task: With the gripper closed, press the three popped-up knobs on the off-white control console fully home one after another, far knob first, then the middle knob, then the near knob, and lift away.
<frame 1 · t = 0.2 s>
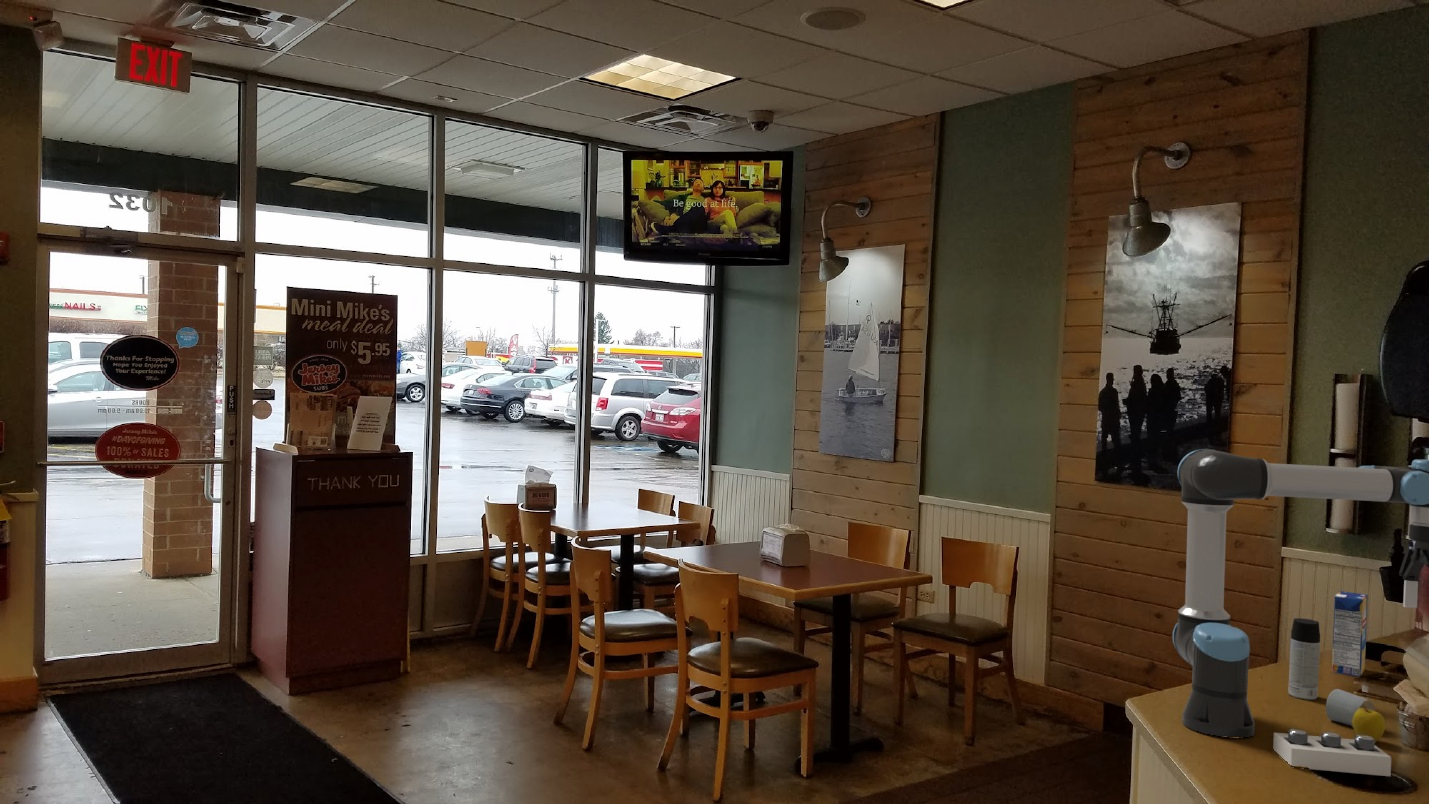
hand: (1424, 613, 237), 28 cm above the counter, fingers open, 13 cm apart
knob near: (1297, 740, 213), point 4 cm above the counter, slide at 0.0 cm
spray can: (1302, 697, 261), on the counter
apple: (1367, 742, 227), on the counter
beverage box: (1348, 671, 288), on the counter
knob mid: (1330, 743, 212), point 4 cm above the counter, slide at 0.0 cm
knob far: (1364, 746, 211), point 4 cm above the counter, slide at 0.0 cm
ceramic mug: (1351, 724, 240), on the counter
console: (1330, 763, 212), on the counter
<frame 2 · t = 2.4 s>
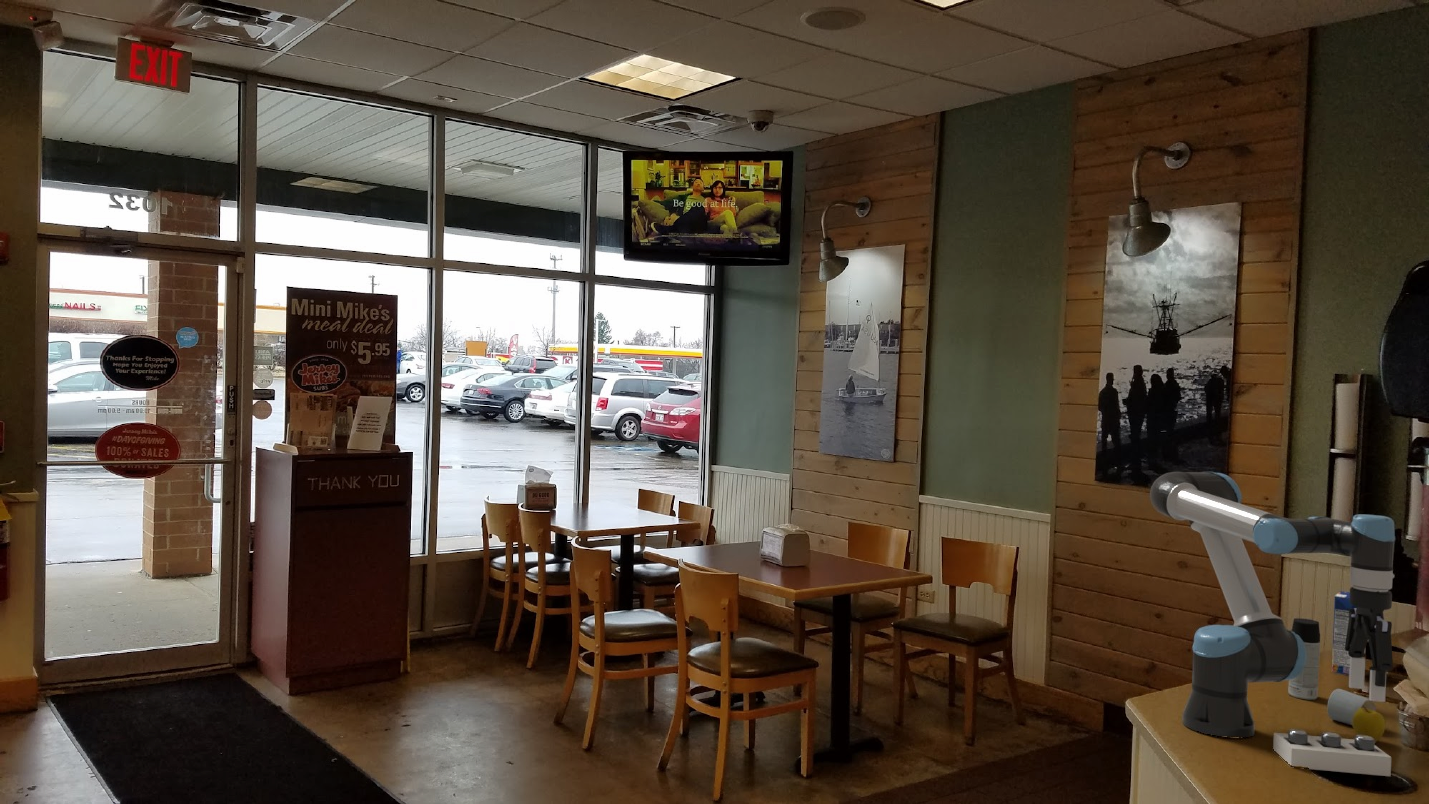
hand: (1366, 694, 211), 15 cm above the counter, fingers open, 9 cm apart
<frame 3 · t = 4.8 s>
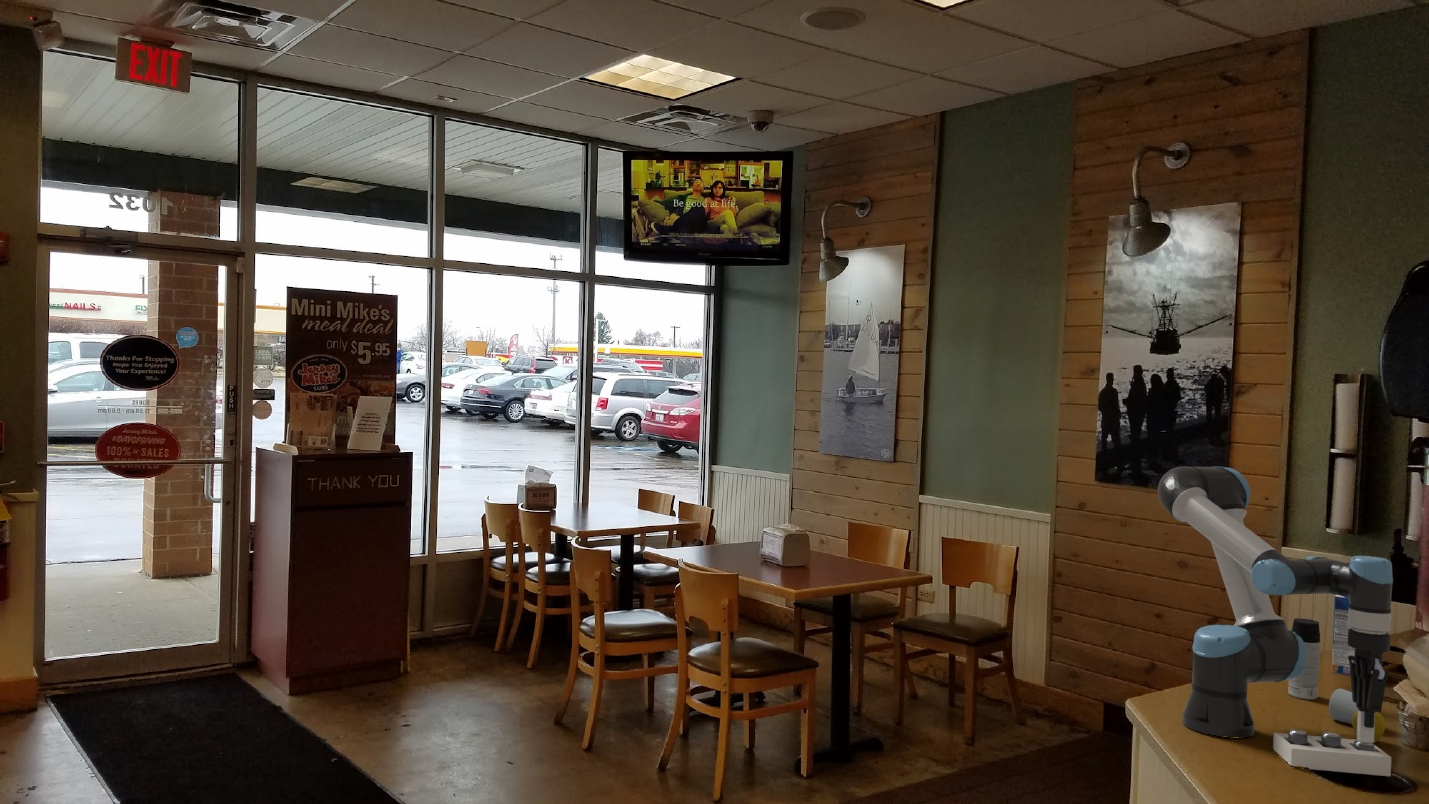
hand: (1365, 740, 211), 5 cm above the counter, fingers closed
knob far: (1364, 751, 211), point 3 cm above the counter, slide at 1.1 cm, touching gripper
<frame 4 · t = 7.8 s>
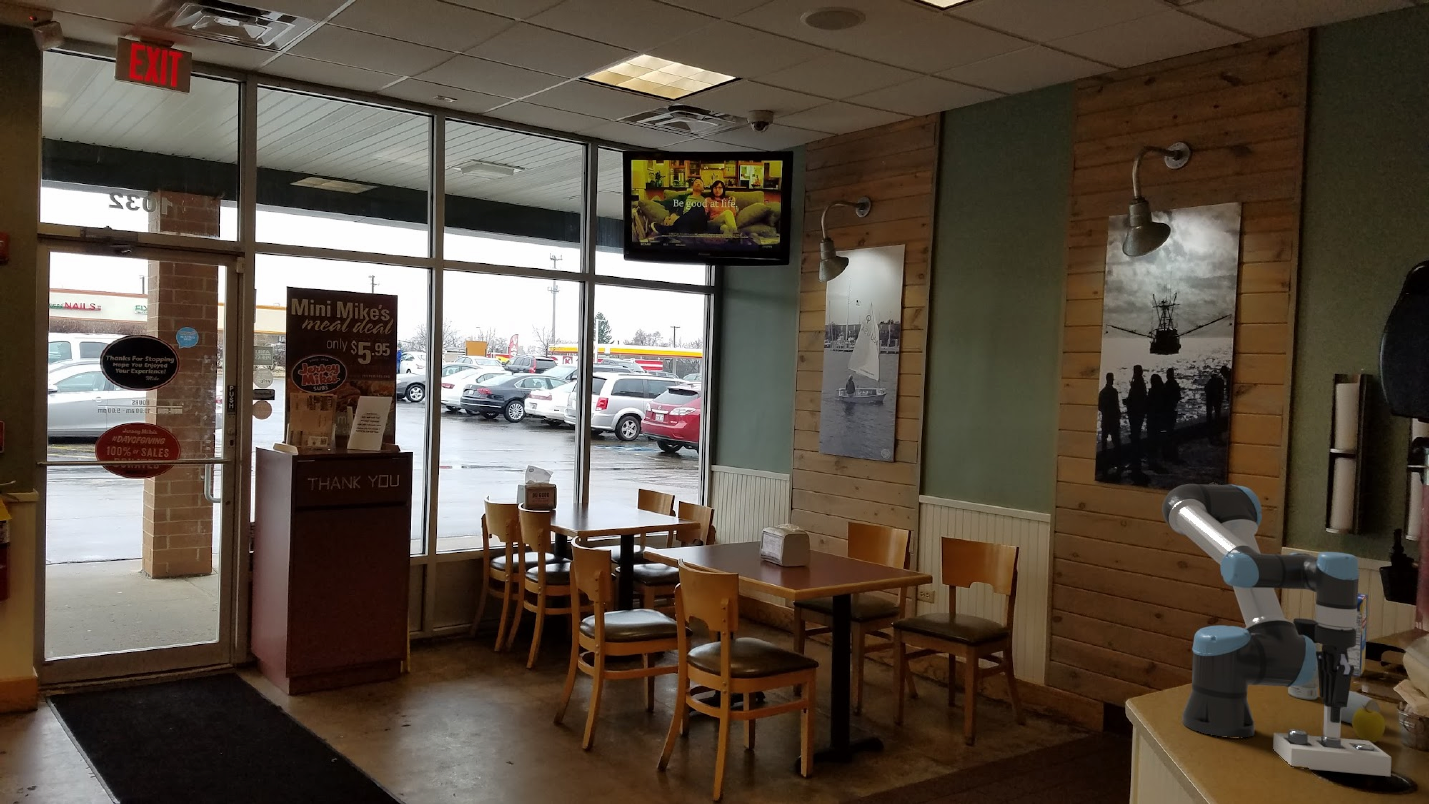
hand: (1331, 735, 212), 6 cm above the counter, fingers closed
knob mid: (1330, 746, 212), point 4 cm above the counter, slide at 0.7 cm, touching gripper
knob far: (1363, 755, 211), point 2 cm above the counter, slide at 1.9 cm
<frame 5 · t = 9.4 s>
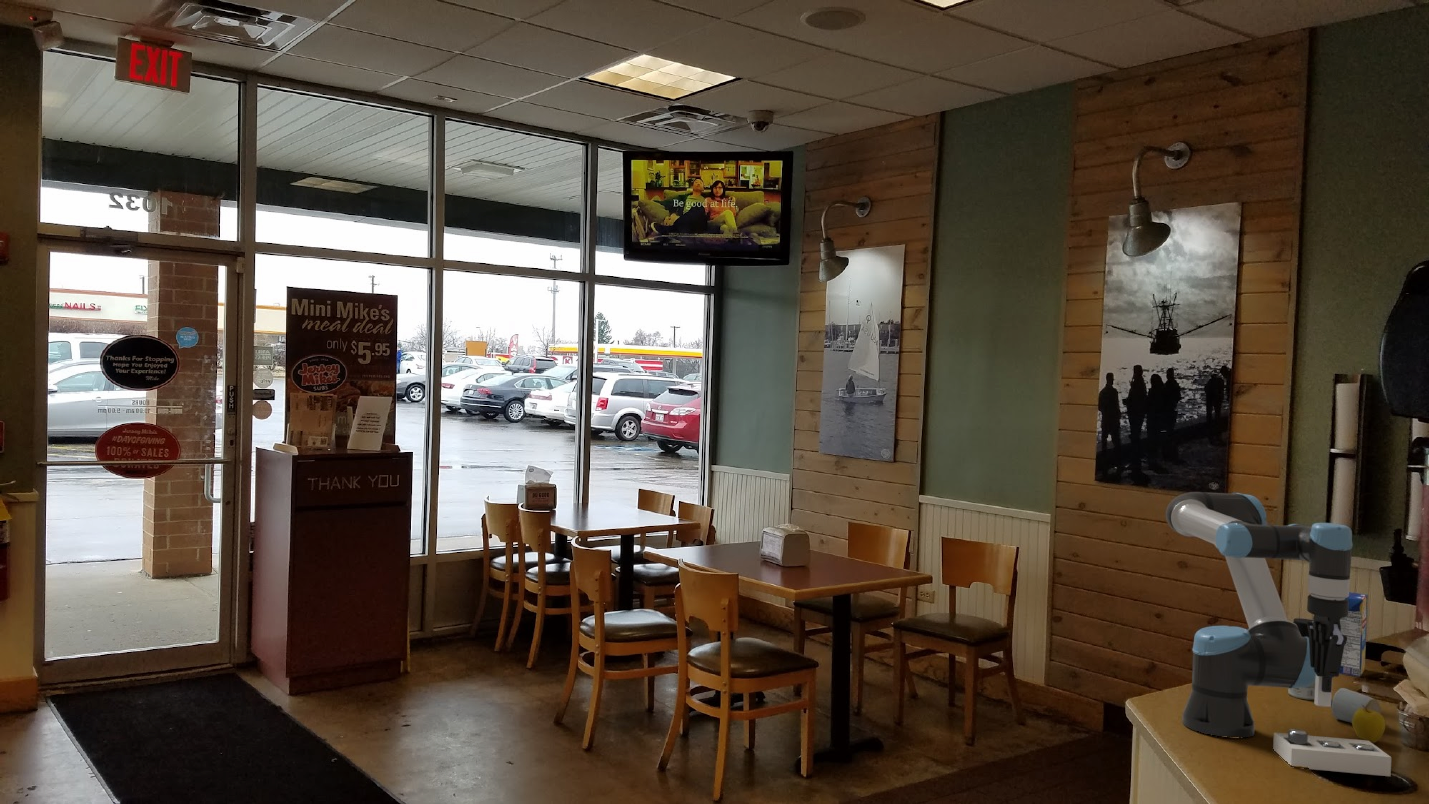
hand: (1322, 705, 213), 12 cm above the counter, fingers closed
knob mid: (1330, 752, 212), point 2 cm above the counter, slide at 1.9 cm
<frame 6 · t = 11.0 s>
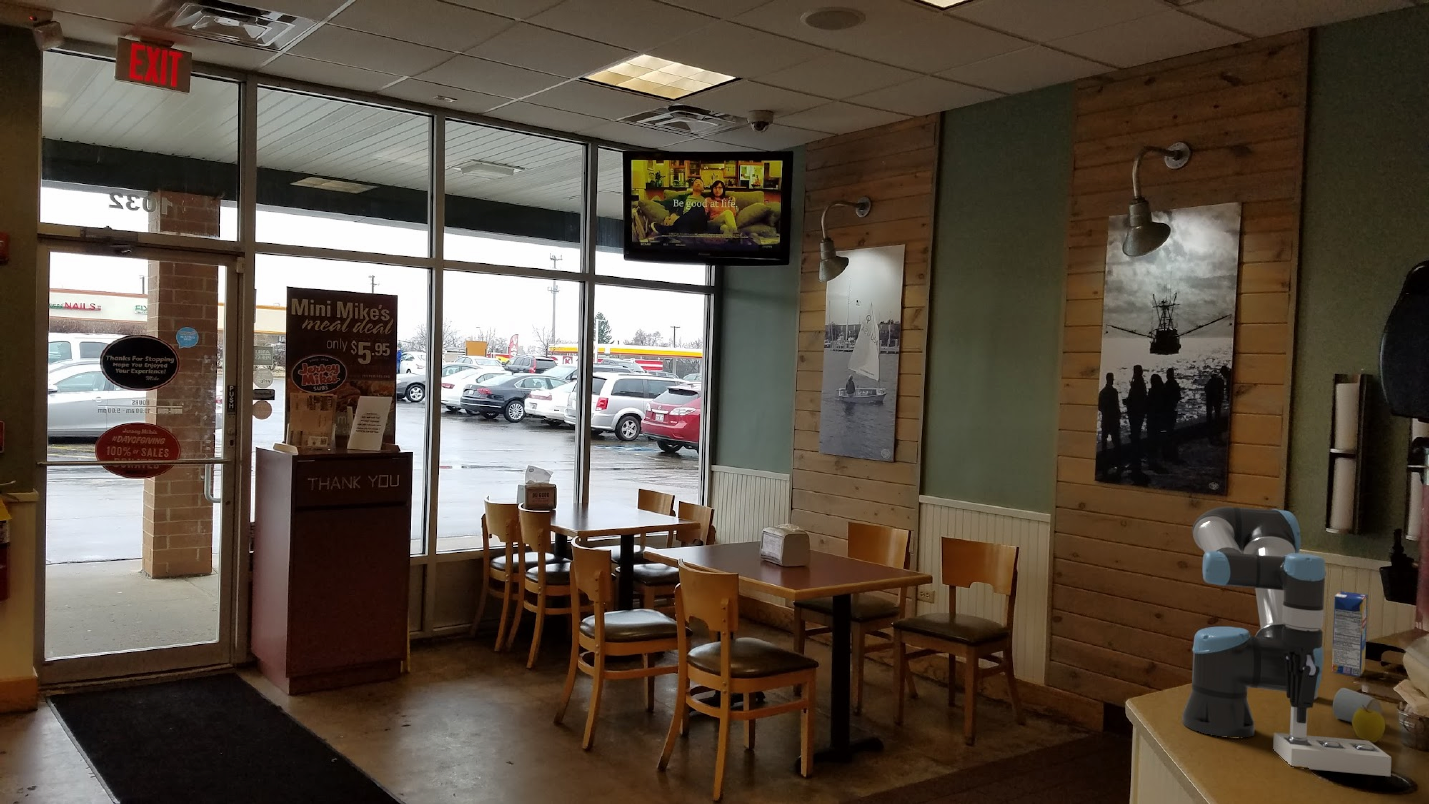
hand: (1298, 736, 213), 5 cm above the counter, fingers closed
knob near: (1297, 746, 213), point 3 cm above the counter, slide at 1.4 cm, touching gripper
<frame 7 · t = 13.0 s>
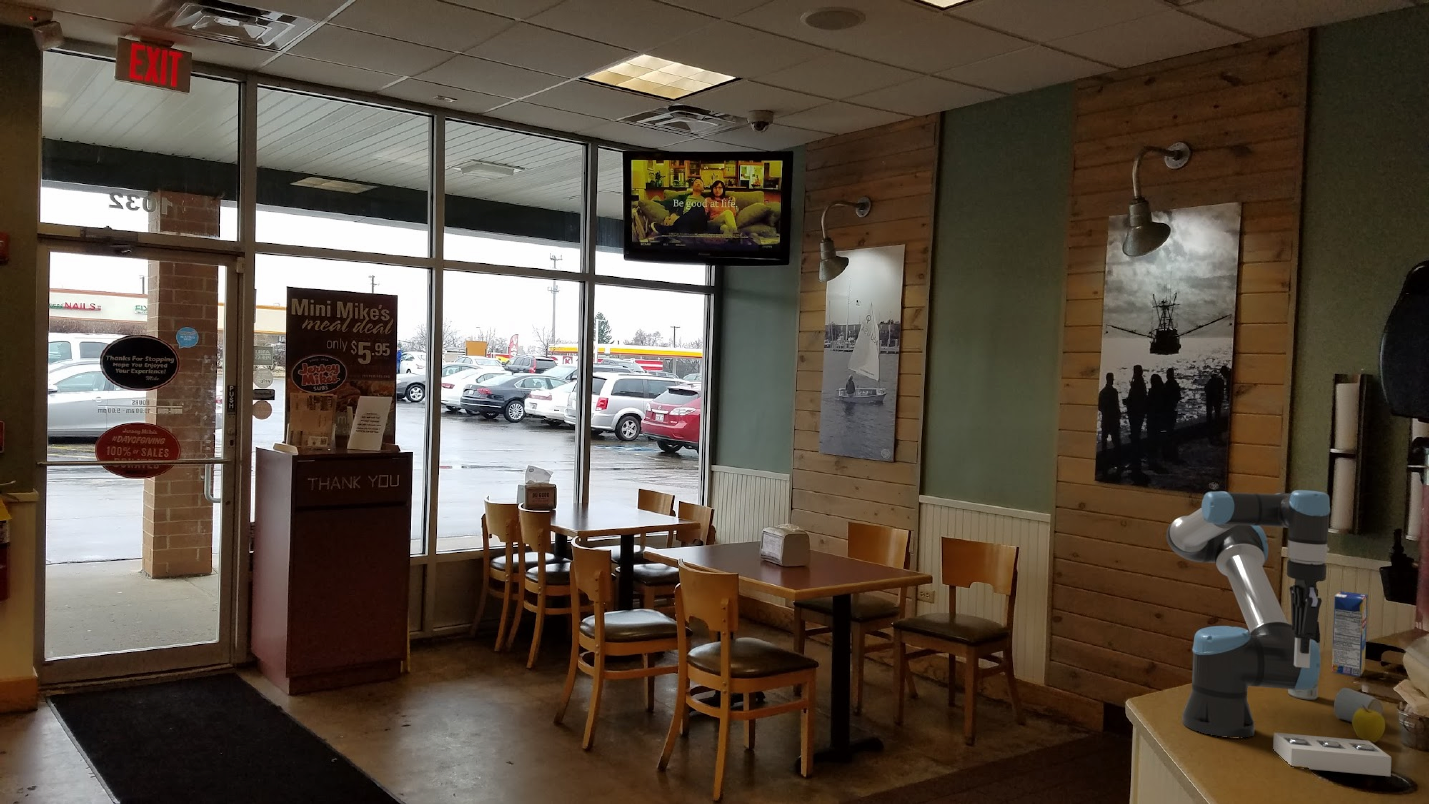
hand: (1301, 666, 220), 18 cm above the counter, fingers closed
knob near: (1297, 749, 213), point 2 cm above the counter, slide at 1.9 cm
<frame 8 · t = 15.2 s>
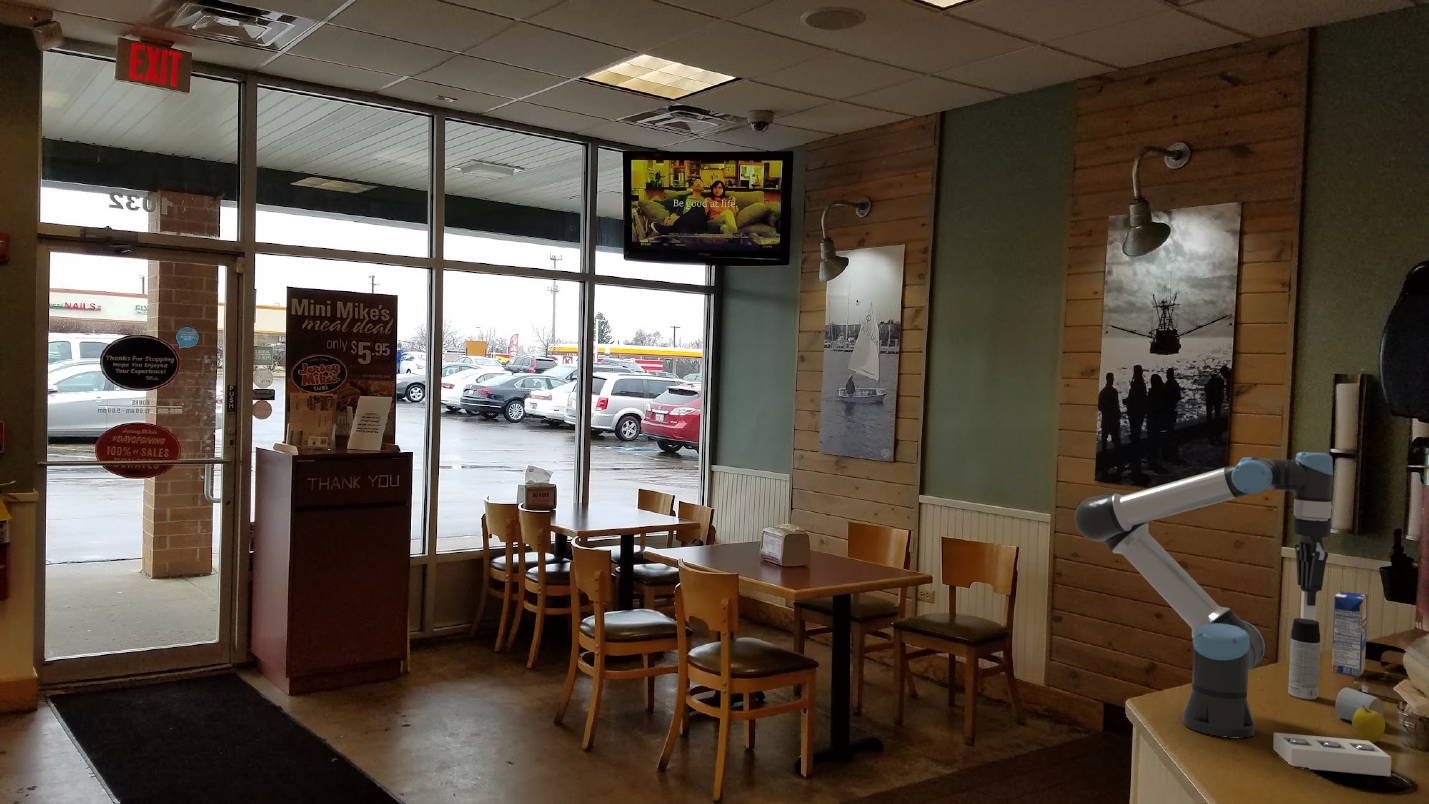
hand: (1308, 618, 233), 26 cm above the counter, fingers closed
at the end: knob far slide at 1.9 cm; knob mid slide at 1.9 cm; knob near slide at 1.9 cm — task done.
